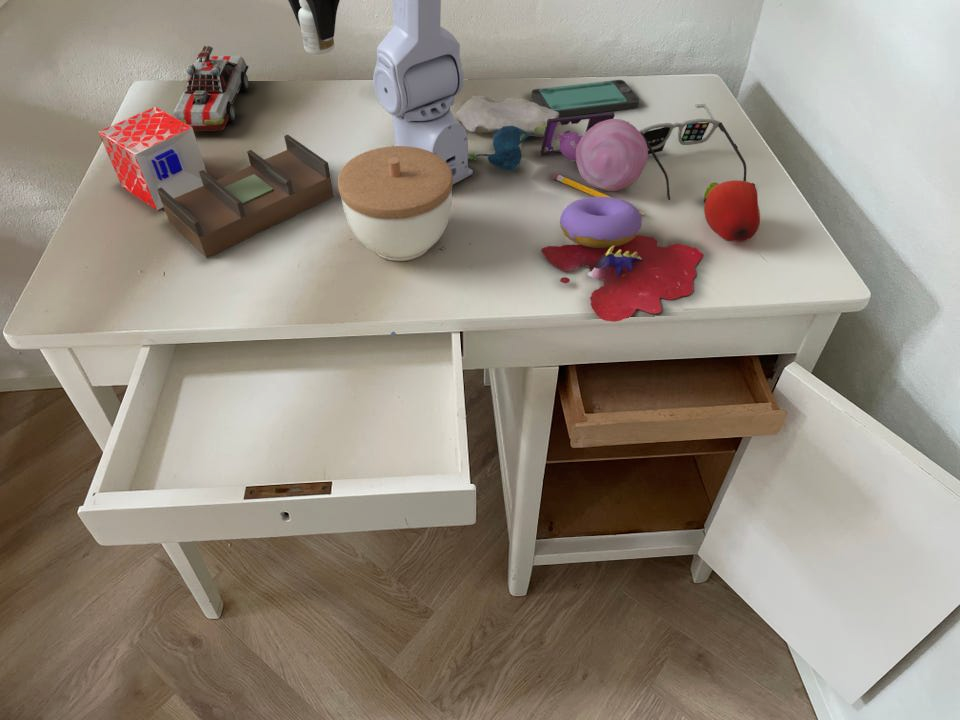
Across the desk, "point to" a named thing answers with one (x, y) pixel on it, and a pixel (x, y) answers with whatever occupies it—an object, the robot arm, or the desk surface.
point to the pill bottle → (312, 32)
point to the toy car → (211, 91)
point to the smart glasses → (684, 137)
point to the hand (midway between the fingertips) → (317, 32)
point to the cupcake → (611, 155)
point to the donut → (600, 222)
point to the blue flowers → (508, 146)
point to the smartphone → (587, 98)
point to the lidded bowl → (397, 200)
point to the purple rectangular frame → (569, 133)
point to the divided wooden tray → (249, 198)
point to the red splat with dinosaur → (630, 274)
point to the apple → (732, 209)
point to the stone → (503, 115)
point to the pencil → (582, 187)
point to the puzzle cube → (154, 155)
